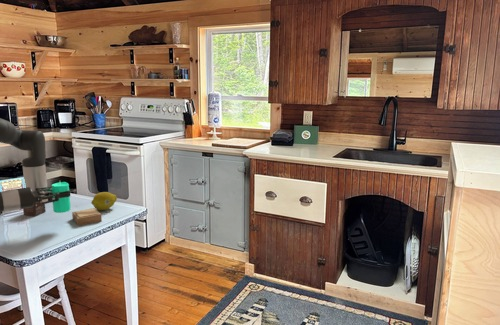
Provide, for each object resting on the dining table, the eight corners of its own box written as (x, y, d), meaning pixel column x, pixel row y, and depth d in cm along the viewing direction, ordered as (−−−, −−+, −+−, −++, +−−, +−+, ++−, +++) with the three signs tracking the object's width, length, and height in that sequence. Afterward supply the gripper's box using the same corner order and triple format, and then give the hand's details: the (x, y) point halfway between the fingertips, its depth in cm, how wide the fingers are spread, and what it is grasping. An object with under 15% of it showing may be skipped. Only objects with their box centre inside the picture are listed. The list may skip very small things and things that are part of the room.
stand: (72, 218, 158) (72, 211, 157) (95, 214, 163) (94, 207, 163) (78, 225, 151) (77, 218, 150) (101, 221, 156) (101, 213, 156)
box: (35, 216, 159) (34, 200, 158) (23, 215, 160) (21, 198, 159) (46, 211, 165) (44, 195, 164) (33, 210, 166) (32, 194, 165)
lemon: (92, 213, 164) (91, 196, 163) (90, 208, 171) (89, 191, 169) (118, 210, 169) (117, 193, 167) (116, 205, 176) (115, 188, 174)
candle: (57, 214, 143) (55, 183, 140) (50, 209, 146) (48, 180, 144) (73, 210, 147) (71, 180, 144) (66, 206, 151) (64, 177, 148)
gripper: (19, 194, 130) (72, 187, 141) (13, 184, 141) (63, 177, 151) (21, 215, 132) (73, 206, 142) (15, 203, 143) (64, 195, 153)
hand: (68, 191), depth 147 cm, fingers closed on candle, 4 cm apart
